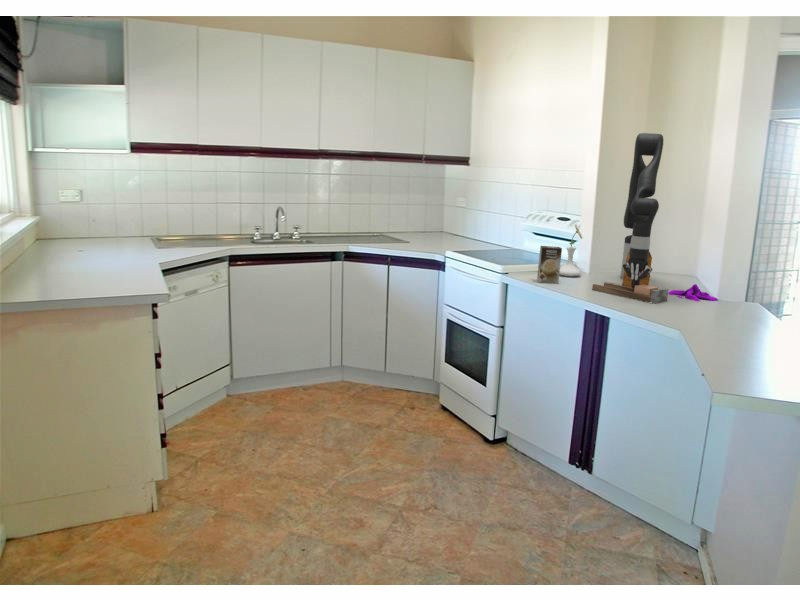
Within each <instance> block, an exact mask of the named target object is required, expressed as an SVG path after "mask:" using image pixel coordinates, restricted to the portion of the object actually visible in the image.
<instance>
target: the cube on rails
mask: <svg viewBox="0 0 800 600" xmlns="http://www.w3.org/2000/svg"><path fill="white" fill-rule="evenodd" d="M591 288H592V289H591V290H592V291H595V292H600V293H605V294H608V295H614V296H617V295H618V297H622V296H623V297H622V298H626V297H628V298H627V299H631V298H633V300H635V299H637V300H636V301H640V300H642V301H641V302H644V301H647V302H646V303H649V302H652V303H651V304H653V303H654V304H659V303H664V302H667V301H668V293H669V288H658V290H653V291H652V293H651V296H649V295H644V294H640V293H635V292H634V288H631V287H626V286H623V285H622V284H616V283H610V282H607V281H605V282H603V285H602V284H596V283H594V284H592V287H591ZM658 302H659V303H658Z"/></svg>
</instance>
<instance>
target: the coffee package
mask: <svg viewBox="0 0 800 600" xmlns="http://www.w3.org/2000/svg"><path fill="white" fill-rule="evenodd" d="M629 252H630V250H629ZM629 252H628V254H627V258H626V262H625V264H626V263H628V260H629ZM652 260H653V257H652V255H651V252H650V251H649V256H648V260H647V262H648V266H649V267H650V268H652ZM630 269H631V268H630ZM644 270H645V269H644ZM644 270H643V272H644ZM650 280H651V272H650V273H649V274H648V275H647V276H646V277H645V278H644V279H641V280H640V283H639V285H649V284H650ZM631 283H632V279H631V278H630V277H628V275H627V274H626V272H625V270H624V275H623V279H622V284H621V286H626V287H631ZM649 286H650V285H649ZM631 288H632V287H631Z"/></svg>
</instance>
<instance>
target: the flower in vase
mask: <svg viewBox="0 0 800 600" xmlns="http://www.w3.org/2000/svg"><path fill="white" fill-rule="evenodd" d="M574 227H575V233H574V234H573V235H572V238H571V241H570V242H569V245H570V246H566V247H565V248H566V250H567V261H566V263H565V264H563V265H562V266H560V272H559V276H560V275H561V276H565V277H577V276H580V275H581V274H582V271H581V270H580V269H579V268H578V267H577V266H576V265H575V264H574V261H573V259H574V253H575V250H577V247H575V246H573V245H575V241H574V237H575V235H576V234H578V236H579V238H580V239H583V236H582V233H581V232H580V229H579V227H578V225H577V223H574Z"/></svg>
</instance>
